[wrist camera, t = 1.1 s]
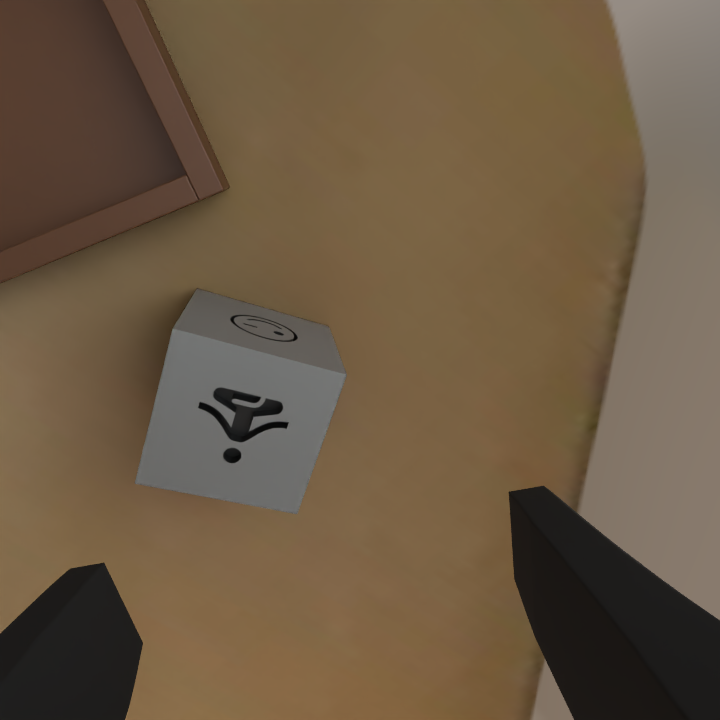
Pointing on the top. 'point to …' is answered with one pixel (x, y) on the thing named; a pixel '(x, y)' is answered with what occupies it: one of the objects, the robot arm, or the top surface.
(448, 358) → the top surface
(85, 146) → the tray
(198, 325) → the dice cube
